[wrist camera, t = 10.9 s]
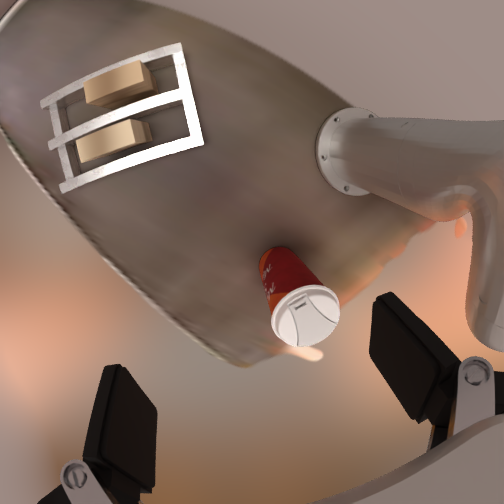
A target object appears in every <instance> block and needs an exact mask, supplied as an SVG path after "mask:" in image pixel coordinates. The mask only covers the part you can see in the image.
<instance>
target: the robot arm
mask: <svg viewBox="0 0 504 504" xmlns="http://www.w3.org/2000/svg"><path fill="white" fill-rule="evenodd" d="M334 118H335V120H336V121H334ZM315 152H316V160H317V164H318V167H319V170H320V172H321V174H322V176H323V177H324V178H325V180H326V181H327V182H328V183H329V184H330V185H331V186H332V187H333V188H335V189H336V190H338V191H340V192H342V193H344V194H347V195H352V196H362V195H367V194H369V193H373V194H375V195H378V196H380V197H382V198H385V199H387V200H389V201H391V202H394V203H396V204H398V205H400V206H402V207H404V208H407V209H409V210H411V211H413V212H415V213H417V214H419V215H422V216H424V217H426V218H428V219H431V220H434V221H439V222H447V221H451V220H455V219H457V218H460V217H462V216H463V215H465V214H467V213H468V212H471V215H472V220H473V236H472V241H473V246H472V256H471V265H470V272H469V280H468V286H467V293H466V303H465V304H466V305H465V310H466V319H467V323H468V326H469V328H470V330H471V332H472V333H473V335H474V336H475V337H476V338H477V339H478V340H479V341H480V342H481V343H482V344H484V345H485V346H487V347H489V348H491V349H493V350H496V351H500V352H504V120H498V121H455V120H439V119H420V118H379V117H378V116H377V115H375V114H374V113H373V112H371V111H369V110H366V109H362V108H354V107H352V108H345V109H342V110H339V111H337V112H335V113H333V114H332V115H331V116H330V117H328V118H327V119H326V121H325V122H324V123H323V125H322V126H321V128H320V131H319V133H318V136H317V140H316V149H315ZM321 156H323V158H322V159H321ZM344 187H345V188H344ZM369 354H370V357H371V359H372V361H373V362H374V364H375V365H376V367H377V368H378V370H379V371H380V373H381V374H382V375H383V377H384V379H385V380H386V381H387V383H388V385H389V386H390V388H391V389H392V391H393V392H394V394H395V395H396V397H397V398H398V400H399V401H400V403H401V405H402V406H403V408H404V409H405V411H406V412H407V414H408V415H409V417H410V418H411V419H412V420H414V419H415V420H416V421H417V422H418V424H419V423H421V422H423V421H424V420H426V419H429V421H430V422H431V424H432V428H431V433H430V438H429V442H428V447H427V451H426V453H425V454H423V455H421V456H419V457H418V458H416V459H414V460H412V461H410V462H408V463H407V464H405V465H403V466H401V467H399V468H397V469H395V470H394V471H391V472H389V473H387V474H385V475H383V476H381V477H379V478H376V479H374V480H372V481H370V482H367V483H365V484H363V485H360V486H358V487H355V488H353V489H350V490H348V491H345V492H342V493H340V494H337V495H334V496H331V497H328V498H325V499H322V500H319V501H315V502H312V503H308V504H504V372H498V371H493V368H492V366H491V364H490V363H489V362H488V361H487V360H486V359H484V358H481V357H477V356H474V357H469V358H467V359H465V360H464V361H463V362H461V361H460V360H459V359H458V358H457V356H456V355H455V354H454V353H453V352H452V351H451V350H450V349H449V348H448V347H447V346H446V345H445V343H444V342H443V341H442V340H441V339H440V338H439V337H438V336H437V335H436V334H435V333H434V332H433V331H432V330H431V329H430V328H429V327H428V326H427V325H426V324H425V323H424V322H423V321H422V320H421V319H420V318H418V317H417V316H416V315H415V314H414V313H413V312H412V311H411V310H410V309H409V308H408V307H407V306H406V305H405V304H404V303H403V302H402V301H401V300H400V299H399V298H398V297H397V296H396V295H395V294H394V293H392V292H388V293H385V294H382V295H380V296H378V297H377V298H376V301H375V302H373V308H372V323H371V336H370V346H369ZM156 433H157V410H156V407H155V406H154V405H153V403H152V402H151V401H150V400H149V398H148V397H147V396H146V394H145V393H144V392H143V390H142V389H141V388H140V387H139V385H138V384H137V383H136V381H135V380H134V378H133V377H132V376H131V374H130V373H129V371H128V370H127V369H126V368H125V367H122V366H121V365H120V364H114V365H107V366H105V367H104V370H103V373H102V376H101V380H100V383H99V387H98V391H97V394H96V398H95V402H94V406H93V410H92V414H91V418H90V422H89V427H88V432H87V436H86V441H85V446H84V451H83V461H81V460H77V459H76V460H71V461H69V462H67V463H66V464H65V465H64V466H63V468H62V470H61V474H60V480H61V483H62V484H61V485H59V486H58V487H57V488H56V489H54V490H53V491H52V492H50V493H49V494H48V495H46V496H45V497H44V498H42V499H41V500H40V501H39V502H38V503H37V504H143V502H142V501H141V500H140V493H152V488H153V487H154V486H155V460H156Z"/></svg>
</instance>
